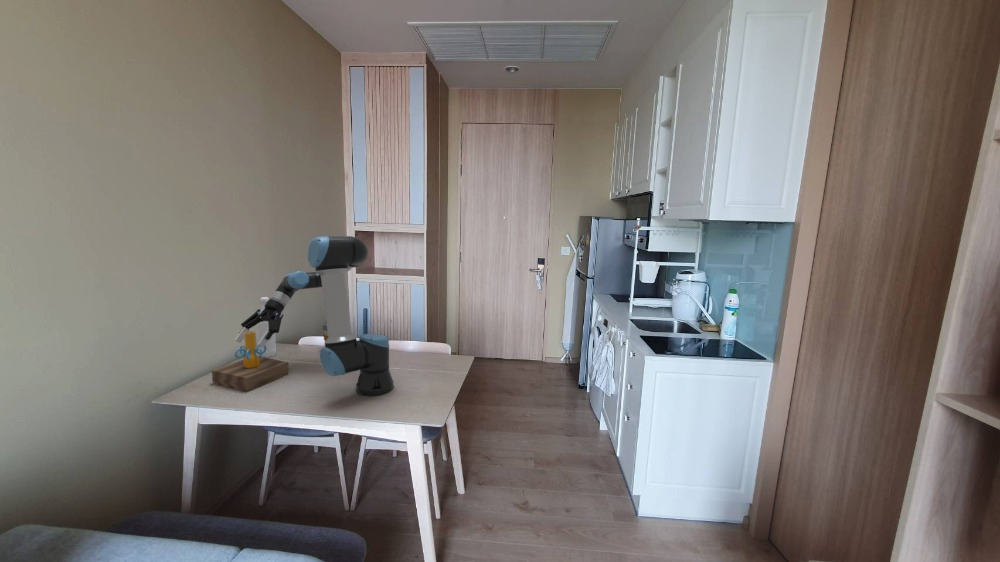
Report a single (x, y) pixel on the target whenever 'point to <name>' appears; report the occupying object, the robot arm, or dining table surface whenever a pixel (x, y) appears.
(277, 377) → the walnut block
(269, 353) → the bottle
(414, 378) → the dining table surface
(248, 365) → the yellow tube with loops
